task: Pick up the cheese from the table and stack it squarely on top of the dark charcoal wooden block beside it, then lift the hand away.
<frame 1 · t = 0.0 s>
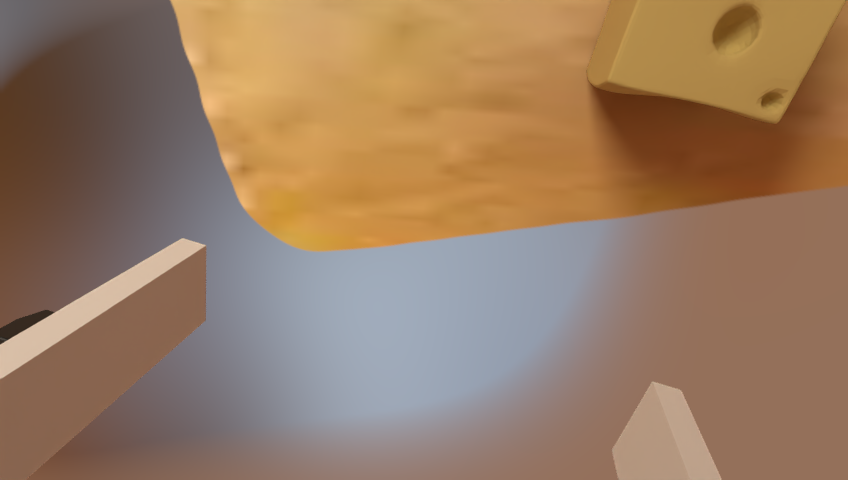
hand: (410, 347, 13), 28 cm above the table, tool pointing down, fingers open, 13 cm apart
cheese: (674, 18, 32), on the table
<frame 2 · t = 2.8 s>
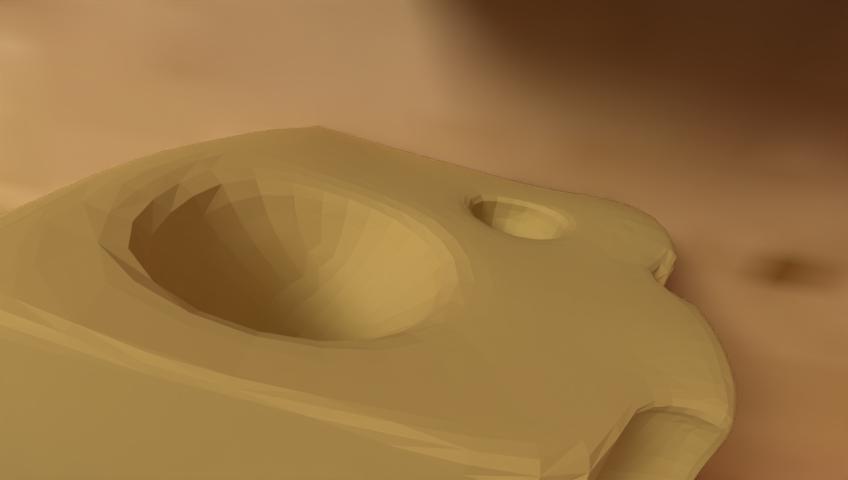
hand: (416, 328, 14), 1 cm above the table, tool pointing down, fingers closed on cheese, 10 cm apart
cheese: (425, 300, 15), on the table, touching gripper
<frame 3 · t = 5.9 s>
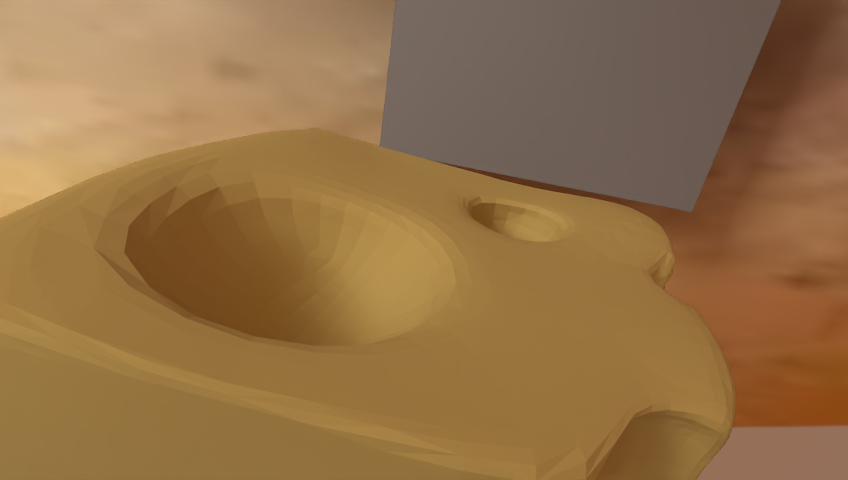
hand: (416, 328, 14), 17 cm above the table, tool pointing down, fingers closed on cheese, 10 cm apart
charcoal block: (562, 15, 25), on the table
cheese: (424, 301, 15), point 16 cm above the table, touching gripper
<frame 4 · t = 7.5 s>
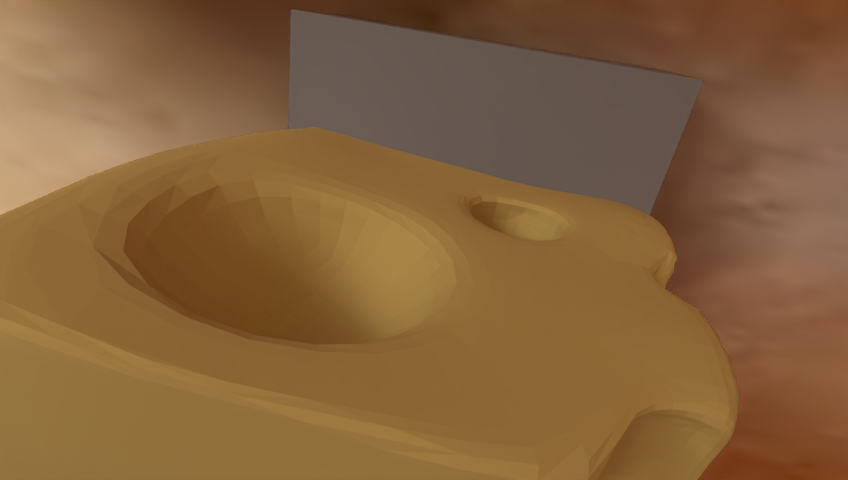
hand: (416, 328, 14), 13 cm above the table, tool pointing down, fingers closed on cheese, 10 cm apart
charcoal block: (464, 190, 26), on the table
cheese: (425, 301, 15), point 12 cm above the table, touching gripper
when the fingers open (9 cm above the table, at t = 8.8 s): cheese drops 2 cm, point 5 cm above the table.
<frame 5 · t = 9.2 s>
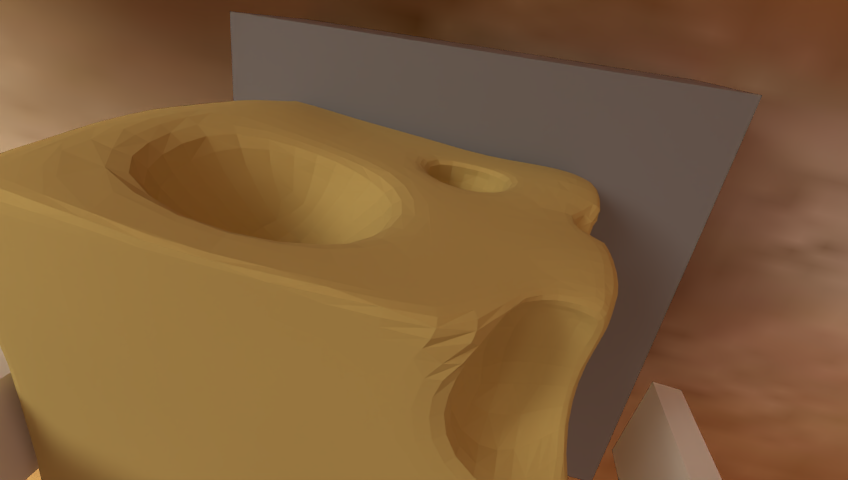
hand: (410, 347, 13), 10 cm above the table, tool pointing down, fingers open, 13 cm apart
charcoal block: (457, 222, 22), on the table
cheese: (396, 263, 17), point 5 cm above the table, touching gripper
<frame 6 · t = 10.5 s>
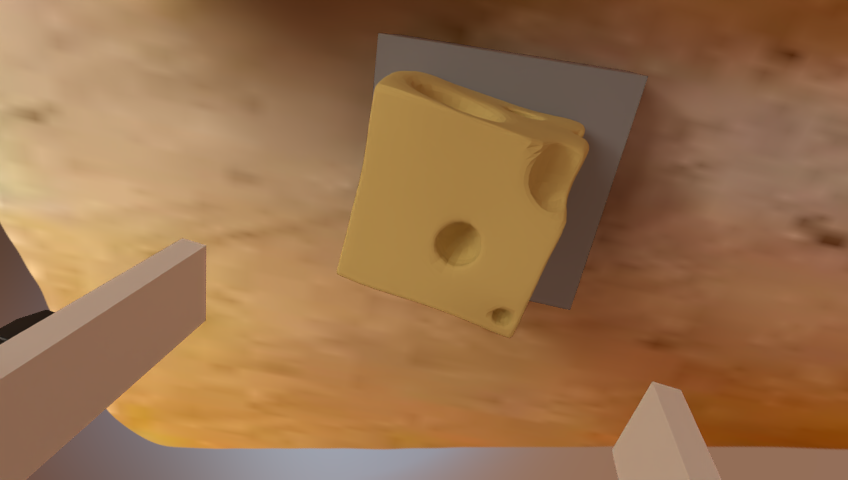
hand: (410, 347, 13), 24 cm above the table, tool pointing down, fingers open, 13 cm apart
charcoal block: (488, 161, 35), on the table
cheese: (470, 171, 30), point 5 cm above the table
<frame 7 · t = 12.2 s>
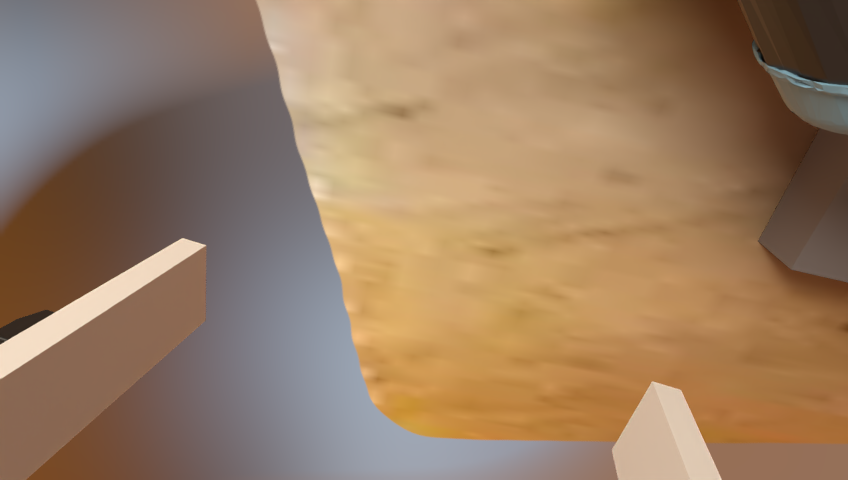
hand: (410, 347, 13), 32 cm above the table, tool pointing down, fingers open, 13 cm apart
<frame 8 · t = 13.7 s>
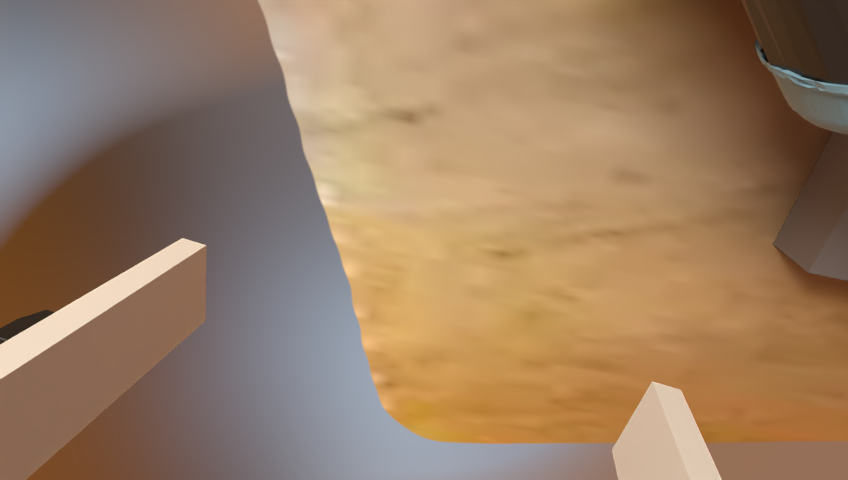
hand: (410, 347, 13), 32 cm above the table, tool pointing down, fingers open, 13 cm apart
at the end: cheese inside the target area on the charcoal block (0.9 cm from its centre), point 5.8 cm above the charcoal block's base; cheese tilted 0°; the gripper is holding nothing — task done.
